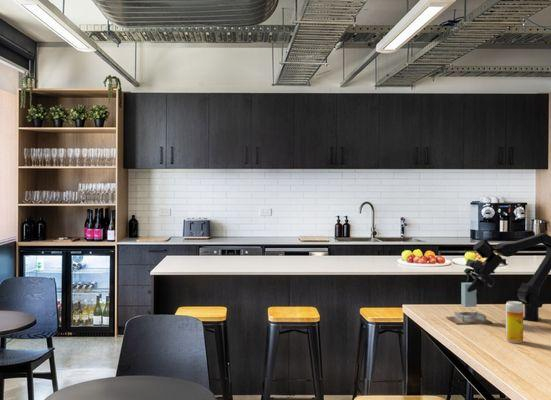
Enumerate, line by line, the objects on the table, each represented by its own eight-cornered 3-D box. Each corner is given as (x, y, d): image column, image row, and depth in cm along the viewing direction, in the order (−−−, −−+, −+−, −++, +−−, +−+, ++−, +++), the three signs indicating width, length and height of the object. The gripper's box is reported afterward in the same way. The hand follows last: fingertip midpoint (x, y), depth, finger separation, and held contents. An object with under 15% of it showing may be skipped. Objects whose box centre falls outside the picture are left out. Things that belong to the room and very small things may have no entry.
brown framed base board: (479, 317, 241) (479, 310, 241) (492, 323, 229) (492, 316, 229) (445, 318, 239) (445, 311, 239) (457, 324, 227) (457, 317, 227)
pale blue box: (474, 304, 236) (474, 282, 236) (478, 306, 232) (478, 283, 232) (461, 305, 236) (461, 282, 236) (465, 306, 232) (465, 284, 232)
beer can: (525, 344, 198) (525, 304, 197) (507, 343, 199) (507, 303, 199) (520, 339, 203) (520, 301, 203) (504, 338, 205) (504, 300, 205)
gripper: (467, 250, 243) (444, 274, 243) (487, 255, 225) (462, 281, 224) (484, 267, 244) (461, 291, 243) (505, 273, 225) (480, 299, 225)
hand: (465, 290), depth 234 cm, fingers closed on pale blue box, 4 cm apart
